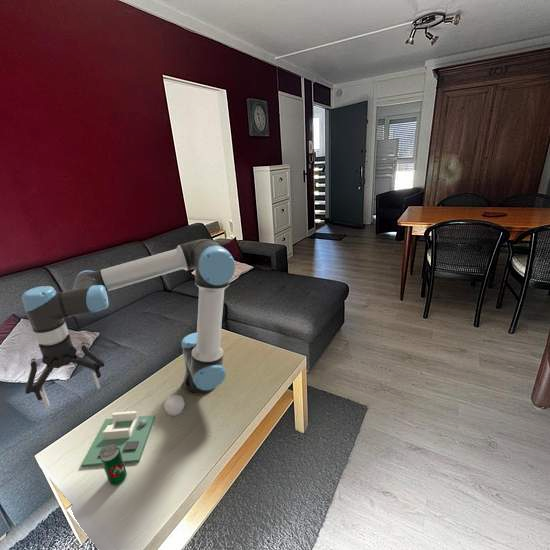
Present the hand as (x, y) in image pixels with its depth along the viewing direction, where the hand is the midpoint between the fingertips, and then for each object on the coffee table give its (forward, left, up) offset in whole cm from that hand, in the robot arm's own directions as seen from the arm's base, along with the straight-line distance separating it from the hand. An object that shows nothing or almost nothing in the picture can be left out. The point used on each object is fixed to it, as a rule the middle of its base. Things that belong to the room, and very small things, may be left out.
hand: (74, 395), depth 95 cm
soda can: (-14, +12, -23) cm, 29 cm away
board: (-9, -2, -22) cm, 24 cm away
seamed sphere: (-24, -13, -23) cm, 36 cm away
